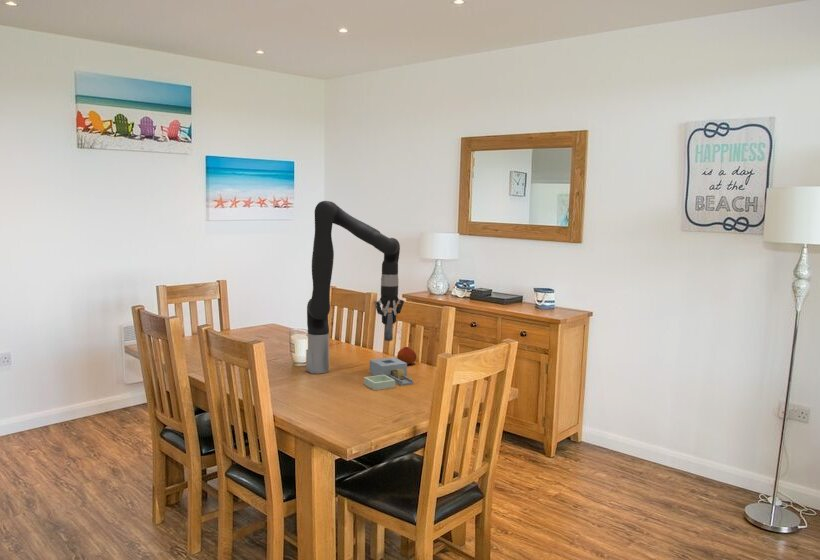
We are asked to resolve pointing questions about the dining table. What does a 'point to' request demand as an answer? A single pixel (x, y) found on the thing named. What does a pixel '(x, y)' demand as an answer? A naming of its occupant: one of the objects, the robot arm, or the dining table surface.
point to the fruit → (406, 355)
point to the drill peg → (389, 327)
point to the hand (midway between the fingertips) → (388, 323)
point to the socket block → (390, 369)
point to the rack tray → (379, 382)
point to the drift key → (398, 373)
